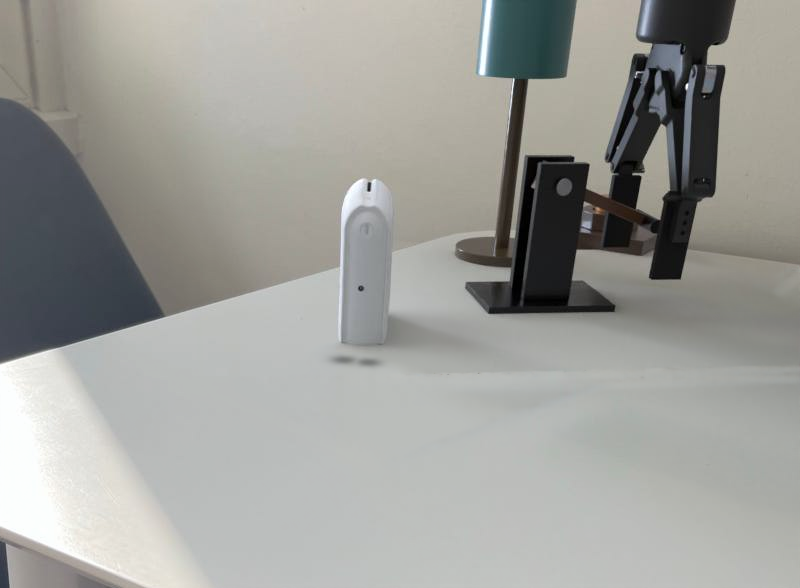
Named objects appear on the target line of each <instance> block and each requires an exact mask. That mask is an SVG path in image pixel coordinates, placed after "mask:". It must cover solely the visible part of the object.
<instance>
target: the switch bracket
mask: <svg viewBox="0 0 800 588" xmlns="http://www.w3.org/2000/svg"><path fill="white" fill-rule="evenodd" d="M543 160H544V161H547V162H542V161H543ZM590 167H591V164H590V163H589V162H586V161H575V156H573V155H571V154H570V155H569V154H525V155H524V159H523V167H522V175H521V184H520V192H519V200H518V209H517V216H516V217H517V218H516V224H515V227H516V228H515V233H514V238H515V241H514V249H513V257H512V266H511V267H510V274H509V280H508V281H507V280H505V281H504V280H501V281H497V280H496V281H494V280H493V281H465V286H464V288H465V290H466V291H467V292H468V293H469V294H470V295H471V296H472V297H473V299H474V300H475V301H476V302H477V303H478V305H480V306H481V307H482V308H483V310H484V311H485V312H486V313H487V314H489V315H499V314H500V315H504V314H507V315H508V314H510V315H511V314H559V313H560V314H563V313H565V314H566V313H567V314H569V313H571V314H573V313H615V312H616V304H615V303H614V302H612V301H611V300H610V299H608V298H606V297H605V296H604V295H603V294H601V293H600V292H599V291H598V290H596V289H595V288H594V287H592V286H591V285H590V284H589V283H587V282H585V280H583V279H581V280H579V279H577V280H575V279H573V277H574V271H575V270H574V269H575V263H576V256H577V251H578V250H577V244H578V238H579V231H580V225H581V218H582V212H583V207H584V205H585V202H584V199H585V193H586V189H587V185H588V178H589V172H590ZM536 174H537V175H536ZM535 177H536V183H535V189H533V188H531V186H532V183H533V181H534V179H535Z"/></svg>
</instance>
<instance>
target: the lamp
mask: <svg viewBox="0 0 800 588" xmlns="http://www.w3.org/2000/svg"><path fill="white" fill-rule="evenodd" d="M577 2H578V0H482V2H481V14H480V25H479V34H478V45H477V46H478V47H477V58H476V67H475V74H476V75H478V76H482V77H489V78H499V79H511V89H510V97H509V105H508V115H507V124H506V132H505V144H504V151H503V160H502V170H501V178H500V179H501V180H500V189H499V197H498V206H497V216H496V225H495V233H494V236H478V237H477V236H476V237H470V238H469V237H468V238H463V239H461V240H459V241H457V242H456V243H455V246H454V247H455V248H454V256H455V257H456V258H457V259H458V260H461V261H463V262H466V263H470V264H474V265H480V266H486V267H495V268H511V266H512V257H513V249H514V241H515V237H511V232H512V231H511V230H512V222H513V216H514V215H513V214H514V206H515V197H516V190H517V189H516V187H517V181H518V171H519V164H520V163H519V162H520V156H521V155H520V154H521V146H522V139H523V138H522V137H523V131H524V130H523V129H524V120H525V113H526V112H525V111H526V104H527V95H528V86H529V80H555V79H557V80H558V79H565V78H567V77H568V69H569V63H570V62H569V61H570V54H571V47H572V39H573V34H574V33H573V31H574V27H575V26H574V25H575V18H576V11H577Z"/></svg>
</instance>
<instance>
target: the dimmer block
mask: <svg viewBox="0 0 800 588" xmlns="http://www.w3.org/2000/svg"><path fill="white" fill-rule="evenodd" d="M605 214H606V213H602V212H597V211H595V206H594V205H591V204H588V205H585V206H583V212H582V218H581V225H580V231H579V238H578V244H577V251H593V250H594V251H598V250H599V251H605V252H611V253H618V254H623V255H630V256H637V257H642V256H644V255H646V254H648V253H650V252H651V251H654V248H655V243H656V238H657V234H653V233H651V232H650V231H648V230H646V229H644V228H642V227H640V226H639V225H637V224H635V223H633V228H632V233H631V238H630V244H629V247H614V248H603V247H601V246H600V244H601V238H602V232H603V226H604V220H605Z"/></svg>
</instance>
